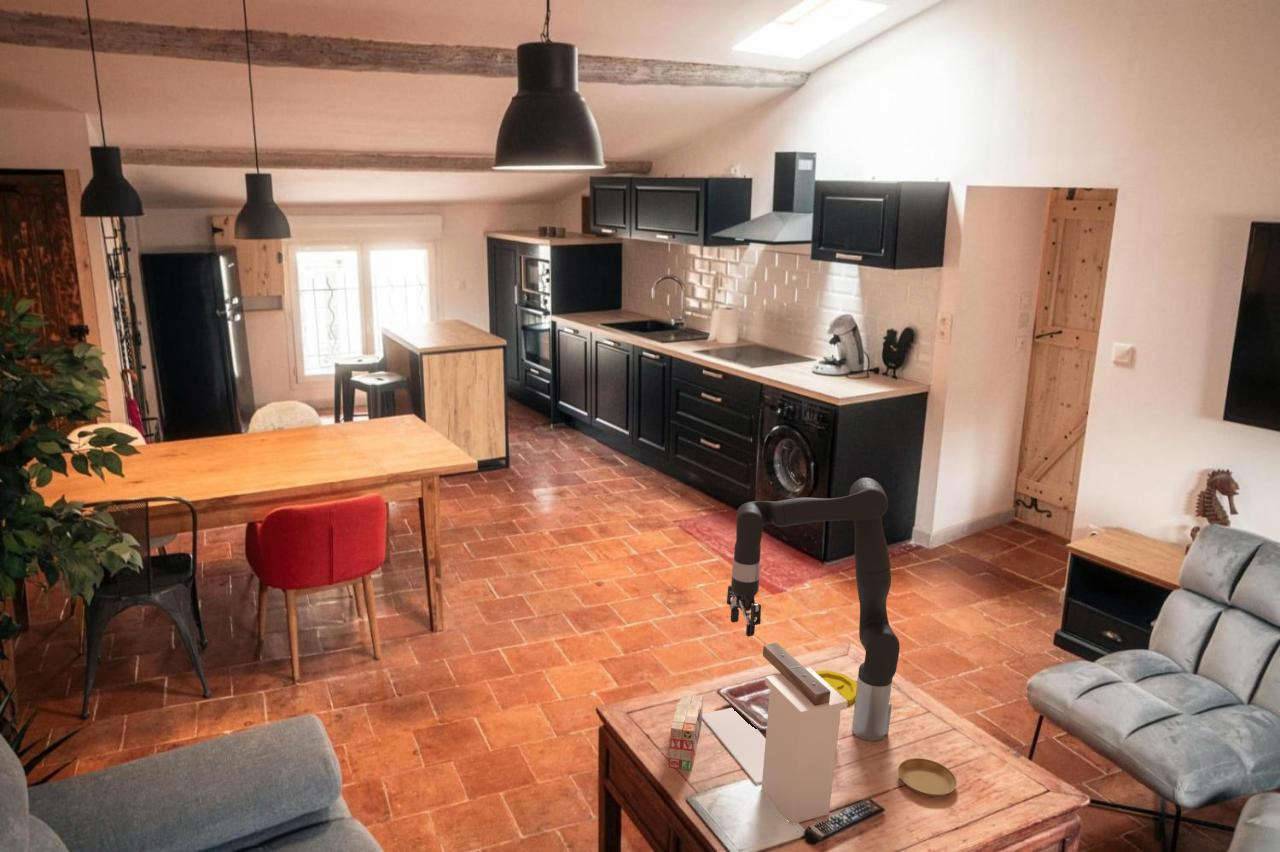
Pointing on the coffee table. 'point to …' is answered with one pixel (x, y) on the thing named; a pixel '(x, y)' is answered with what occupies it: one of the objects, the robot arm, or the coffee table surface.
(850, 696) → the decorative disc
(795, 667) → the studded wooden bar
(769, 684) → the tall stand
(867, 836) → the coffee table surface
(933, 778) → the plant saucer
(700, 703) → the stack of blocks
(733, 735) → the white mat
